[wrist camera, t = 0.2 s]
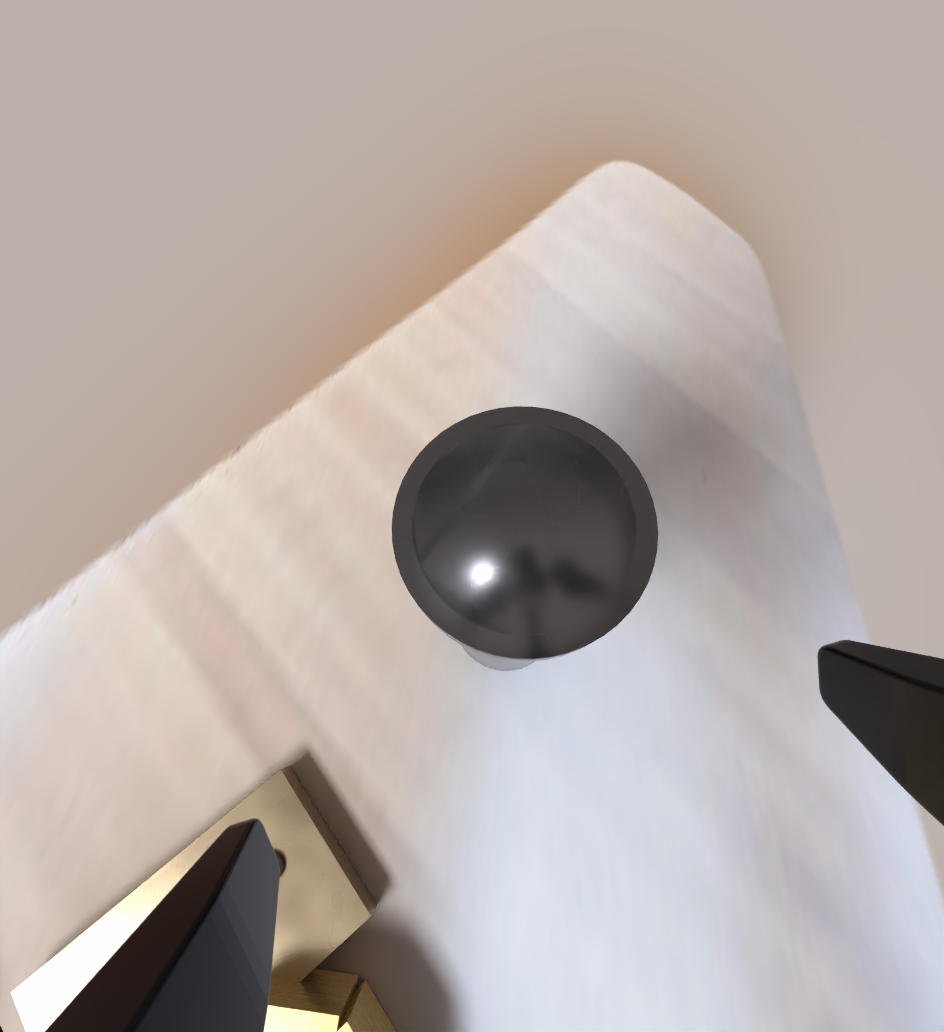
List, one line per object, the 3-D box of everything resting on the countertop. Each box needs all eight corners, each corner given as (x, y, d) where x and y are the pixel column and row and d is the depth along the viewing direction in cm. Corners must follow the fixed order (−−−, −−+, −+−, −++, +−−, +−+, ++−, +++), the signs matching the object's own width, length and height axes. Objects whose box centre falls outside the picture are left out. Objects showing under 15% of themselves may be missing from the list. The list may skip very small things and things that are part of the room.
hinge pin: (590, 626, 22) (715, 537, 10) (497, 707, 21) (508, 721, 9) (511, 537, 24) (534, 364, 11) (421, 610, 23) (340, 506, 10)
